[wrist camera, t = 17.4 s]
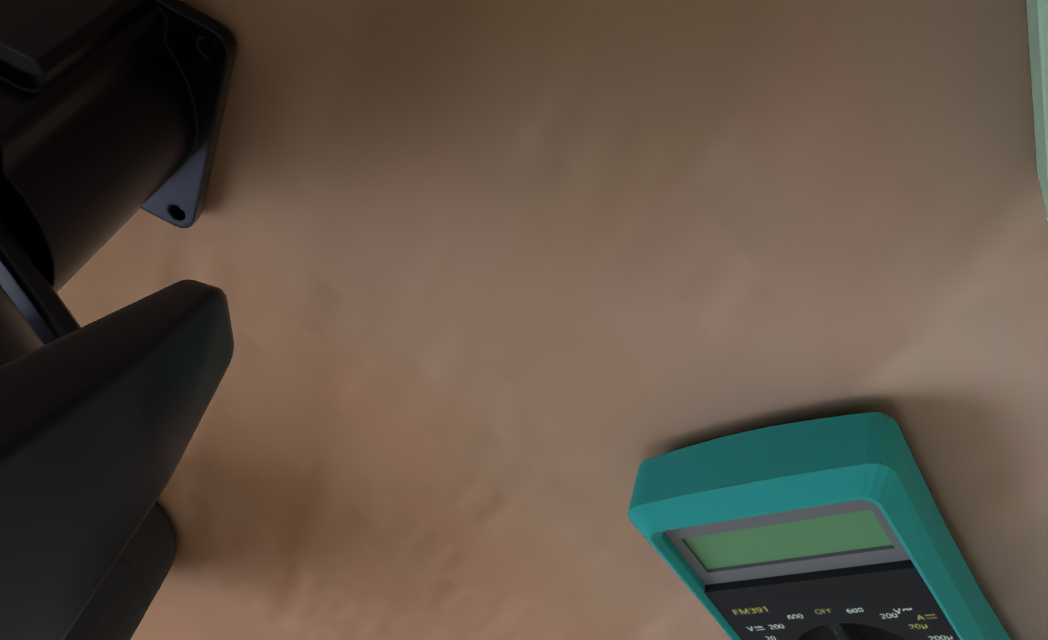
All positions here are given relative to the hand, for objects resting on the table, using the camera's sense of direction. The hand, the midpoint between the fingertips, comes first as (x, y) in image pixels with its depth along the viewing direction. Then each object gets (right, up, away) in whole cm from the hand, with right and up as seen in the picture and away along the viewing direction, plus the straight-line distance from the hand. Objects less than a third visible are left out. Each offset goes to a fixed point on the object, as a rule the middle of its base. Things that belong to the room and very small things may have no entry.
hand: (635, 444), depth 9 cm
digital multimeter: (+9, -6, +19) cm, 22 cm away
